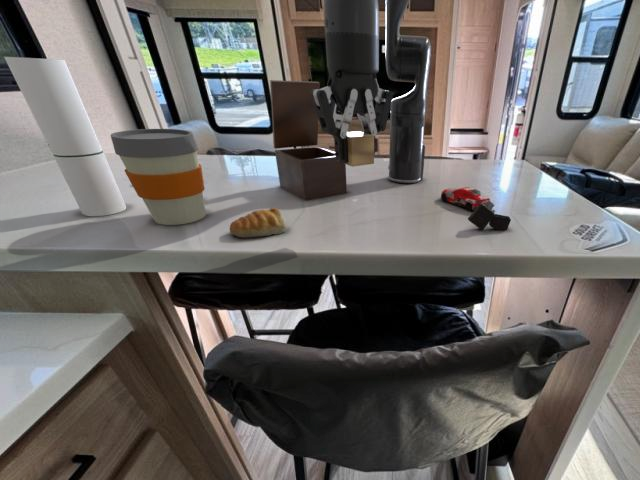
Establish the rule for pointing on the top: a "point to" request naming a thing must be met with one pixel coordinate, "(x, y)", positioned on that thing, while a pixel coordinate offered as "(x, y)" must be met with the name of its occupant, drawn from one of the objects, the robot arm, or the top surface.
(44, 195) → the top surface
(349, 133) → the block
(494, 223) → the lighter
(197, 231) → the top surface
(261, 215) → the pastry
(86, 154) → the cylindrical container
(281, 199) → the top surface
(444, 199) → the race car
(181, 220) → the reusable coffee cup
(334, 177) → the chest
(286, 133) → the lid
